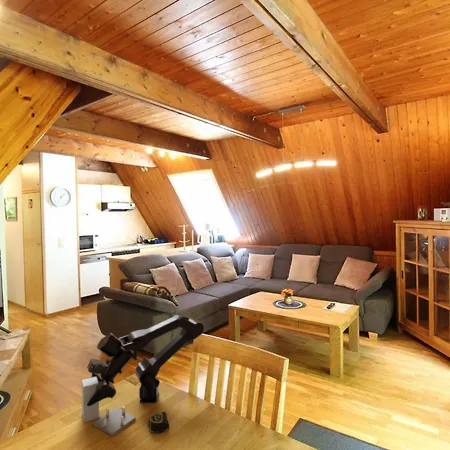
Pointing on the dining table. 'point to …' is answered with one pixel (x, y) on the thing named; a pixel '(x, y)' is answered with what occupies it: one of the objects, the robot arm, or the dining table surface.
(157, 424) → the tape measure
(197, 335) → the robot arm
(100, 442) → the dining table surface
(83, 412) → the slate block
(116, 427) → the plate
